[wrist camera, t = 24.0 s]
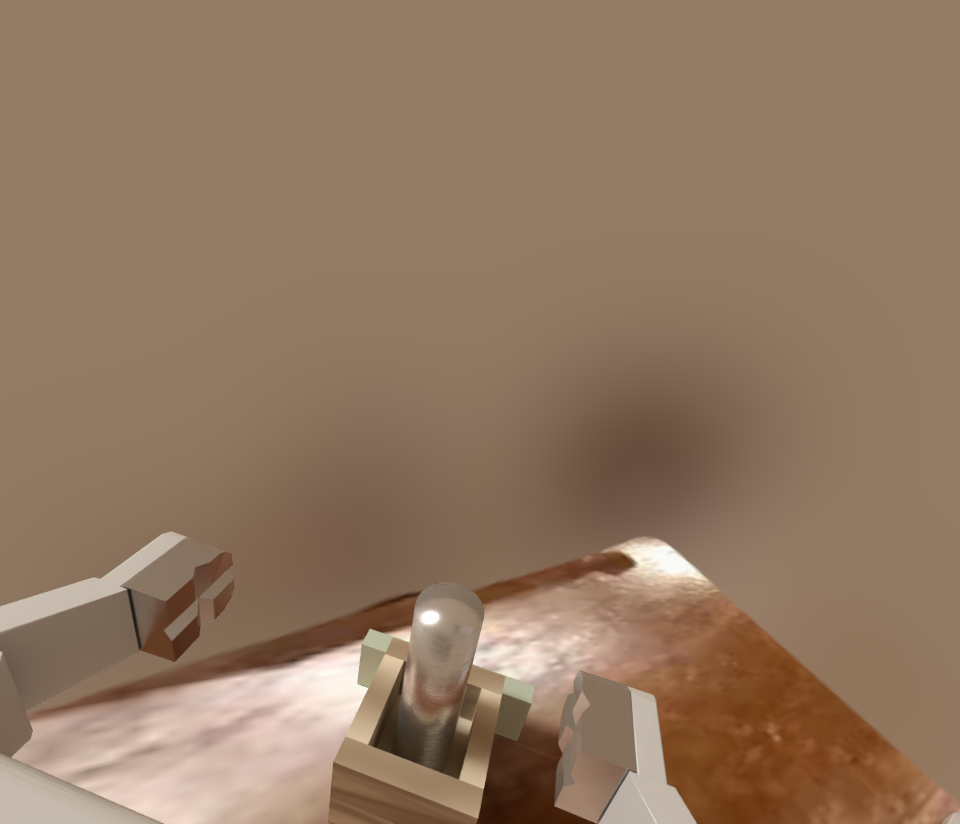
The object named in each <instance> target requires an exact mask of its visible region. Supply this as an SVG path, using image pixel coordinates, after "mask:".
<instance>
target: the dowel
mask: <svg viewBox="0 0 960 824" xmlns="http://www.w3.org/2000/svg"><path fill="white" fill-rule="evenodd" d="M483 619H484V608H483V605H482V602H481V601H480V599H479V598H478V596H477V595H476V594H475V593H474V592H473V591H471V590H470V589H469V588H467V587H465V586H463V585H460V584H456V583H450V582H443V583H437V584H434V585H431V586H430V587H428V588H426V589H425V590H424V591H422V593H421V594H420V595H419V597H418V599H417V601H416V605H415V611H414V618H413V624H412V630H411V637H410V643H409V650H408V656H407V663H406V669H405V676H404V682H403V688H402V695H401V701H400V708H399V714H398V721H397V727H396V734H395V740H394V747H393V755H396V756H398V757H401V758H404V759H406V760H409V761H411V762H414V763H417V764H419V765H422V766H424V767H427V768H430V769H432V770H435V771H438V772H440V773H441V772H442V771H443V770H444V768H445V766H446V765H447V762H448V759H449V756H450V752H451V747H452V743H453V739H454V735H455V731H456V727H457V723H458V719H459V715H460V711H461V707H462V703H463V699H464V695H465V691H466V687H467V683H468V679H469V675H470V671H471V667H472V663H473V659H474V655H475V651H476V647H477V643H478V639H479V635H480V631H481V627H482V623H483Z"/></svg>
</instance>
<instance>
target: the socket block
mask: <svg viewBox="0 0 960 824" xmlns="http://www.w3.org/2000/svg"><path fill="white" fill-rule="evenodd" d="M408 650H409V643H408V642H405V641H402V640H399V639H396V638H392V640H391V643H390V645H389V647H388V649H387V651H386V653H385V655H384V657H383V659H382V661H381V663H380V666H379V668H378V670H377V672H376V674H375V676H374V678H373V680H372V682H371V684H370V686H369V689H368V691H367V693H366V695H365V697H364V699H363V701H362V703H361V705H360V707H359V709H358V712H357V714H356V716H355V718H354V720H353V722H352V724H351V726H350V728H349V730H348V732H347V735H346V737H345V739H344V741H343V743H342V745H341V747H340V749H339V751H338V753H337V755H336V758H335V760H334V762H333V772H332V783H331V795H330V806H329V818H328V822H330V823H333V824H476V823H477V820H478V817H479V811H480V806H481V801H482V796H483V791H484V786H485V780H486V775H487V770H488V765H489V760H490V754H491V749H492V744H493V739H494V734H495V729H496V723H497V718H498V713H499V708H500V703H501V697H502V692H503V687H504V682H505V677H506V676H503V675H500V674H497V673H494V672H491V671H489V670H486V669H483V668H480V667H477V666H474V665H472V667H471V671H470V675H469V679H468V683H467V687H466V691H465V695H464V699H463V703H462V707H461V711H460V715H459V719H458V723H457V727H456V731H455V735H454V739H453V743H452V747H451V752H450V756H449V759H448V762H447V765H446V766H445V768H444V770H443V771H442V772H441V773H440V772H438V771H435V770H432V769H430V768H427V767H424V766H422V765H419V764H417V763H414V762H411V761H409V760H406V759H404V758H401V757H398V756H396V755H393V747H394V740H395V734H396V727H397V721H398V714H399V708H400V701H401V695H402V688H403V682H404V676H405V669H406V663H407V656H408Z"/></svg>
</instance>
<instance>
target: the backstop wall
mask: <svg viewBox="0 0 960 824" xmlns="http://www.w3.org/2000/svg"><path fill="white" fill-rule="evenodd" d="M392 638H395V637H392V636H389V635H386V634H383V633H381V632H378V631H375V630H372V629H370V630H369V632H368V634H367V636H366V637H365V639H364V641H363V643H362V648H361V657H360V666H359V674H358V683H357V684H360V685H363V686H366V687H368V688H369V686H370V684H371V682H372V680H373V678H374V676H375V674H376V672H377V670H378V668H379V666H380V663H381V661H382V659H383V657H384V655H385V653H386V651H387V649H388V647H389V645H390V643H391V640H392ZM396 639H398V638H396ZM399 640H401V639H399ZM402 641H404V640H402ZM405 642H406V641H405ZM408 643H409V642H408ZM472 665H473V664H472ZM474 666H476V665H474ZM477 667H479V666H477ZM480 668H481V667H480ZM483 669H484V668H483ZM486 670H487V669H486ZM489 671H490V670H489ZM491 672H493V671H491ZM494 673H496V672H494ZM497 674H499V673H497ZM500 675H502V674H500ZM503 676H504V675H503ZM533 689H534V686H533V685H530V684H528V683H525V682H522V681H519V680H516V679H513V678H510V677H507V676H506V677H505V682H504V687H503V692H502V697H501V703H500V708H499V713H498V718H497V723H496V729H495V734H497V735H500V736H503V737H505V738H508V739H511V740H514V741H516V742H517V741H518V738H519V736H520V733H521V730H522V728H523V725H524V722H525V720H526V717H527V714H528V712H529V709H530V707H531V704H532V696H533Z"/></svg>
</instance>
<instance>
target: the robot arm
mask: <svg viewBox="0 0 960 824" xmlns="http://www.w3.org/2000/svg"><path fill="white" fill-rule="evenodd" d="M232 565H233V562H232V554H231V553H229V552H226V551H224V550H221V549H218V548H215V547H213V546H210V545H207V544H205V543H202V542H199V541H197V540H194V539H191V538H188V537H186V536H183V535H180V534H177V533H174V532H168V533H164V534H162V535H160V536H159V537H158V538H156V539H155V540H154V541H152V542H151V543H150V544H148V545H146V546H145V547H144V548H142V549H141V550H140V551H138V552H137V553H135V554H134V555H133V556H131V557H130V558H129V559H127V560H126V561H125V562H123V563H122V564H120V565H119V566H118V567H116V568H115V569H113V570H112V571H111V572H109V573H108V574H107V575H105V576H104V577H102V578H101V579H98V578H95V577H94V578H90V579H87V580H84V581H81V582H78V583H75V584H71V585H68V586H65V587H61V588H58V589H55V590H52V591H48V592H45V593H42V594H39V595H36V596H32V597H29V598H26V599H23V600H20V601H16V602H13V603H10V604H7V605H3V606H1V607H0V824H163V823H161V822H159V821H156V820H154V819H152V818H150V817H147V816H145V815H143V814H140V813H138V812H136V811H133V810H131V809H129V808H126V807H124V806H122V805H119V804H117V803H115V802H113V801H110V800H108V799H106V798H103V797H101V796H99V795H96V794H94V793H92V792H89V791H87V790H85V789H83V788H80V787H78V786H76V785H73V784H71V783H69V782H66V781H64V780H62V779H59V778H57V777H55V776H52V775H50V774H48V773H46V772H43V771H41V770H39V769H36V768H34V767H32V766H29V765H27V764H25V763H22V762H20V761H18V760H16V759H13V758H11V757H12V756H13V755H14V754H15V753H16V752H17V751H18V750H19V749H20V748H21V747H22V746H23V745H24V744H25V743H27V742H28V741H29V740H30V739H31V735H32V731H33V730H32V727H31V724H30V722H29V719H28V717H27V714H26V712H25V711H27V710H29V709H31V708H33V707H35V706H36V705H39V704H40V703H42V702H44V701H46V700H48V699H50V698H52V697H54V696H56V695H58V694H60V693H62V692H64V691H66V690H67V689H69V688H71V687H73V686H75V685H77V684H79V683H81V682H82V681H85V680H87V679H89V678H91V677H93V676H94V675H96V674H98V673H100V672H102V671H104V670H106V669H108V668H110V667H112V666H114V665H116V664H117V663H120V662H121V661H123V660H125V659H127V658H129V657H131V656H133V655H135V654H137V653H139V650H142V651H145V652H148V653H151V654H153V655H156V656H159V657H162V658H165V659H168V660H171V661H174V662H175V661H176V660H177V659H178V658H179V657H180V656H181V655H182V654H183V653H184V652H185V651H186V650H187V649H188V648H189V647H190V646H191V644H192V643H193V642H194V641H195V640H196V639H197V638H198V637H199V635H200V628H201V625H204V624H206V623H208V622H211V621H213V620H215V619H216V618H217V617H218V616H219V615H220V613H221V612H222V611H223V610H224V609H225V607H226V605H227V604H228V602H229V600H230V598H231V597H232V593H233V589H234V579H233V577H232V576H231V574H230V573H229V571H228V569H229V568H230V567H231V566H232ZM558 745H559V747H560V749H561V751H562V753H563V754H562V757H561V759H560V761H559V763H558V766H557V768H556V784H555V800H554V806H555V807H558V808H560V809H563V810H565V811H567V812H570V813H572V814H575V815H577V816H580V817H582V818H584V819H587V820H589V821H592V822H594V823H596V824H697V823H696V821H695V819H694V818H693V816H692V815H691V813H690V811H689V810H688V808H687V806H686V805H685V803H684V801H683V800H682V798H681V796H680V795H679V793H678V791H677V790H676V788H675V787H672V786H670V785H667V778H666V770H665V763H664V755H663V748H662V740H661V733H660V725H659V718H658V711H657V703H656V700H655V698H654V696H653V695H651V694H649V693H646V692H643V691H640V690H637V689H634V688H631V687H627V686H626V685H624V684H620V683H617V682H614V681H611V680H608V679H605V678H602V677H599V676H596V675H593V674H589V673H586V672H583V671H579V672H578V673H577V676H576V678H575V680H574V691H573V693H572V694H569V695H568V697H567V699H566V702H565V704H564V708H563V712H562V716H561V721H560V728H559V739H558ZM942 824H960V813H958V812H954V813H952V814H950V815H948V816H947V817H946V818H945V819H944V821H943V823H942Z"/></svg>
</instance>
